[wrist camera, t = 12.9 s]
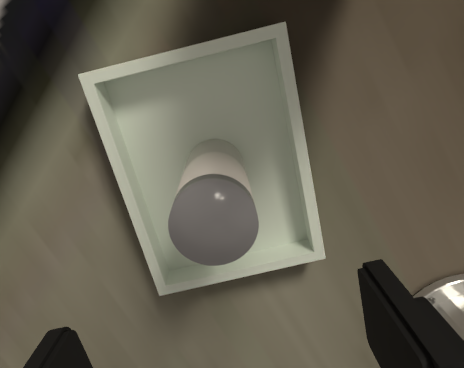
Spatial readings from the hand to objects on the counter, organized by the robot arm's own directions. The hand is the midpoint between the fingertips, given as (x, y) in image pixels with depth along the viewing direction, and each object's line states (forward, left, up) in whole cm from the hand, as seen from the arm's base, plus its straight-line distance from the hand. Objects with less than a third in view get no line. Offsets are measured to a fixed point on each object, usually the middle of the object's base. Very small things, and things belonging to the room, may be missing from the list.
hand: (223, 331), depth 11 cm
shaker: (0, 0, -18) cm, 18 cm away
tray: (0, 0, -19) cm, 19 cm away
